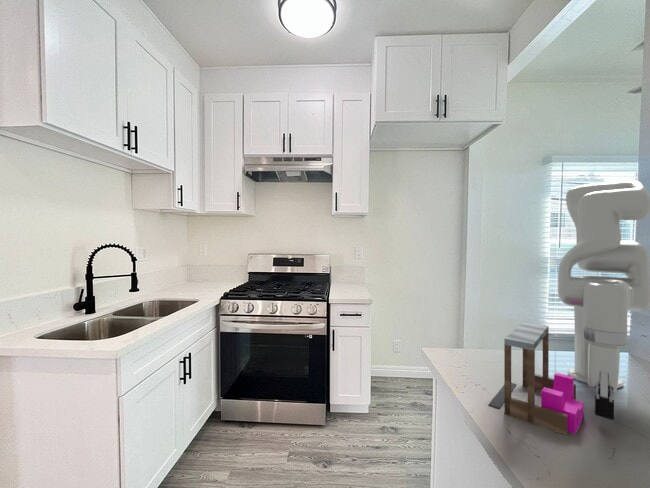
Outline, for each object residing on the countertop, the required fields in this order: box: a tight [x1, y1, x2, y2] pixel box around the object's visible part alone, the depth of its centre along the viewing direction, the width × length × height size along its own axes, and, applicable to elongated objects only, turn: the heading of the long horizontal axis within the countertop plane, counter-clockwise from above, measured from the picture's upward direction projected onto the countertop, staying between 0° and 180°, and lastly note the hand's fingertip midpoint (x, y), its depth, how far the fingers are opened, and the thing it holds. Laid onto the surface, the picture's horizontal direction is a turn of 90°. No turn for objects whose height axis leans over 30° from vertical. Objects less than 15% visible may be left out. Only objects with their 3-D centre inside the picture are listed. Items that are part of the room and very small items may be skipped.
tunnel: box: [503, 321, 577, 436], centre depth 79 cm, size 21×12×18 cm, turn 136°
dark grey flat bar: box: [488, 382, 517, 410], centre depth 85 cm, size 18×2×1 cm, turn 136°
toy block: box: [540, 372, 584, 435], centre depth 75 cm, size 15×6×8 cm, turn 132°
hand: (604, 415), depth 70 cm, fingers closed
